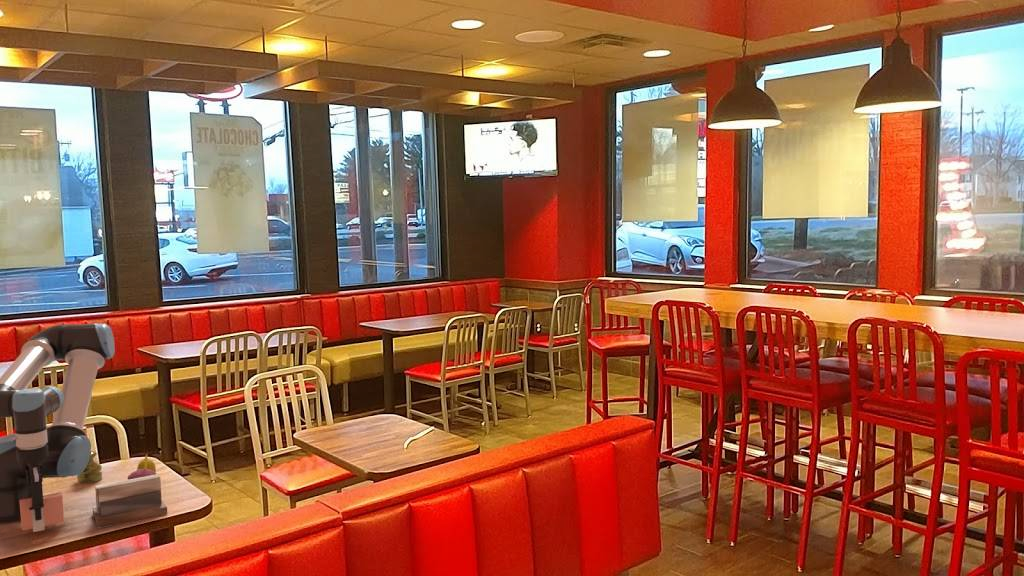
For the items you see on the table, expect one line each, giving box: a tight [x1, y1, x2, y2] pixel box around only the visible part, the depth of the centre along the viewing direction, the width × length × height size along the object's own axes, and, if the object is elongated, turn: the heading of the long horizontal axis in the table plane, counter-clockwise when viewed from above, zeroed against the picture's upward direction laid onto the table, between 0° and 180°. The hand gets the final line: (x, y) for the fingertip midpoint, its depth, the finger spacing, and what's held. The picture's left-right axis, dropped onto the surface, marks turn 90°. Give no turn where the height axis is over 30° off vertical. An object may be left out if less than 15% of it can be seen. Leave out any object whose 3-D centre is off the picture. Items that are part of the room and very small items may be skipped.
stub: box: [20, 491, 65, 531], centre depth 224 cm, size 3×10×8 cm, turn 125°
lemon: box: [136, 458, 157, 473], centre depth 264 cm, size 6×6×8 cm
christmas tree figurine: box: [76, 449, 103, 485], centre depth 266 cm, size 7×7×10 cm
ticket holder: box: [91, 473, 168, 529], centre depth 237 cm, size 12×18×10 cm, turn 125°
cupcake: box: [127, 453, 157, 480], centre depth 255 cm, size 9×8×12 cm
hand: (38, 528), depth 224 cm, fingers closed on stub, 3 cm apart
